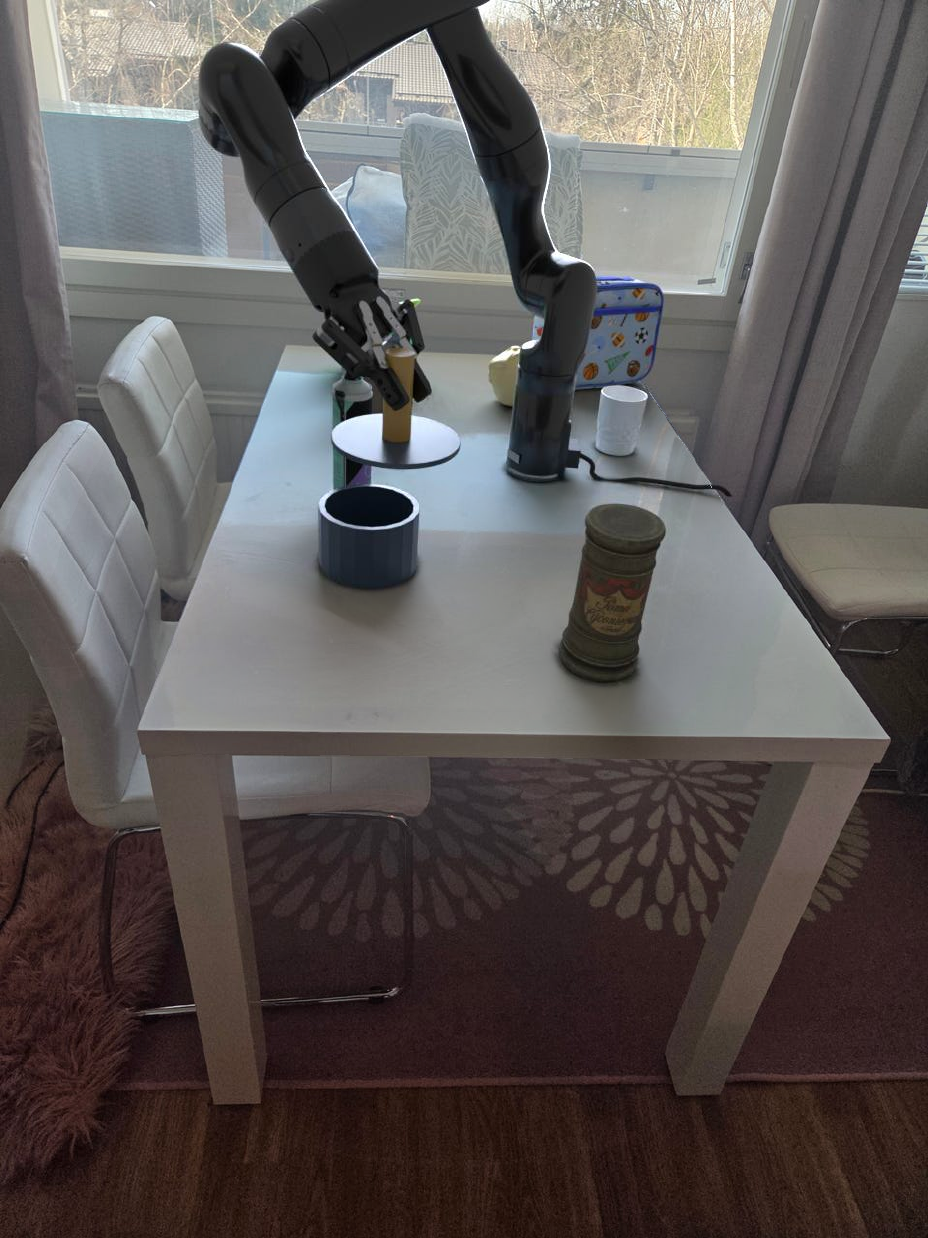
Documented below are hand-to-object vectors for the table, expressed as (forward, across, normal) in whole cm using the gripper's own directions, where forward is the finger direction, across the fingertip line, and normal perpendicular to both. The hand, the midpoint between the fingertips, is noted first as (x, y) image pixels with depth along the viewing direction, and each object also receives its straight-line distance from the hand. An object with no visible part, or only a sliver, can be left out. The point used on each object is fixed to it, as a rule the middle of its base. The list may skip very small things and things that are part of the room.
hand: (413, 401), depth 87 cm
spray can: (+2, +19, +37) cm, 41 cm away
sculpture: (-2, +73, +40) cm, 83 cm away
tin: (+11, +7, +27) cm, 30 cm away
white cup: (+15, +67, +23) cm, 72 cm away
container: (+34, +9, +4) cm, 36 cm away
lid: (+2, 0, +5) cm, 5 cm away
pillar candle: (-13, +47, +52) cm, 71 cm away
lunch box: (0, +94, +38) cm, 101 cm away
